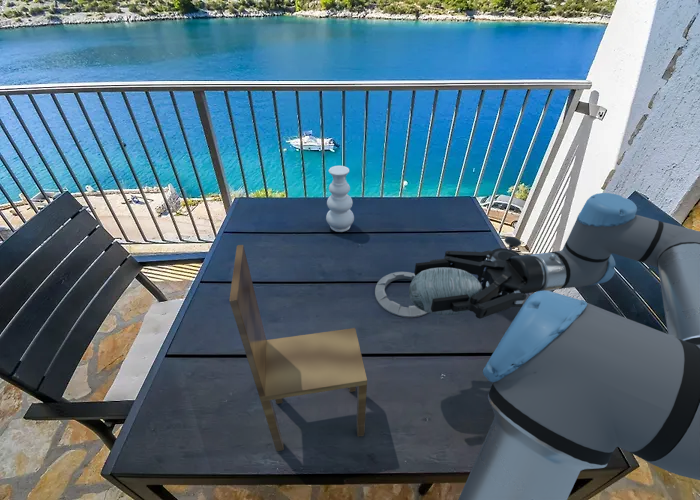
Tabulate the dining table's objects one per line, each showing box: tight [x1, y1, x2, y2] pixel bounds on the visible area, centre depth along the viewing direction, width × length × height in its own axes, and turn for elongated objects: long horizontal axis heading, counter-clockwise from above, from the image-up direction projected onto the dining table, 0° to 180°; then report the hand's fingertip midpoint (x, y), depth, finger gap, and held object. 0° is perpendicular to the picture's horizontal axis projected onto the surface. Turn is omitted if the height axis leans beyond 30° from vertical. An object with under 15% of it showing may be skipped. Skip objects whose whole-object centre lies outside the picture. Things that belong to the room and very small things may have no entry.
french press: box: [476, 236, 522, 302], centre depth 100 cm, size 12×9×23 cm
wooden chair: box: [228, 244, 368, 452], centre depth 65 cm, size 12×19×46 cm, turn 100°
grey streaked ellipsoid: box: [408, 267, 482, 316], centre depth 68 cm, size 14×10×10 cm
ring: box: [374, 271, 429, 319], centre depth 109 cm, size 19×19×2 cm
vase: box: [325, 165, 355, 233], centre depth 131 cm, size 11×11×25 cm
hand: (423, 286), depth 66 cm, fingers closed on grey streaked ellipsoid, 9 cm apart
